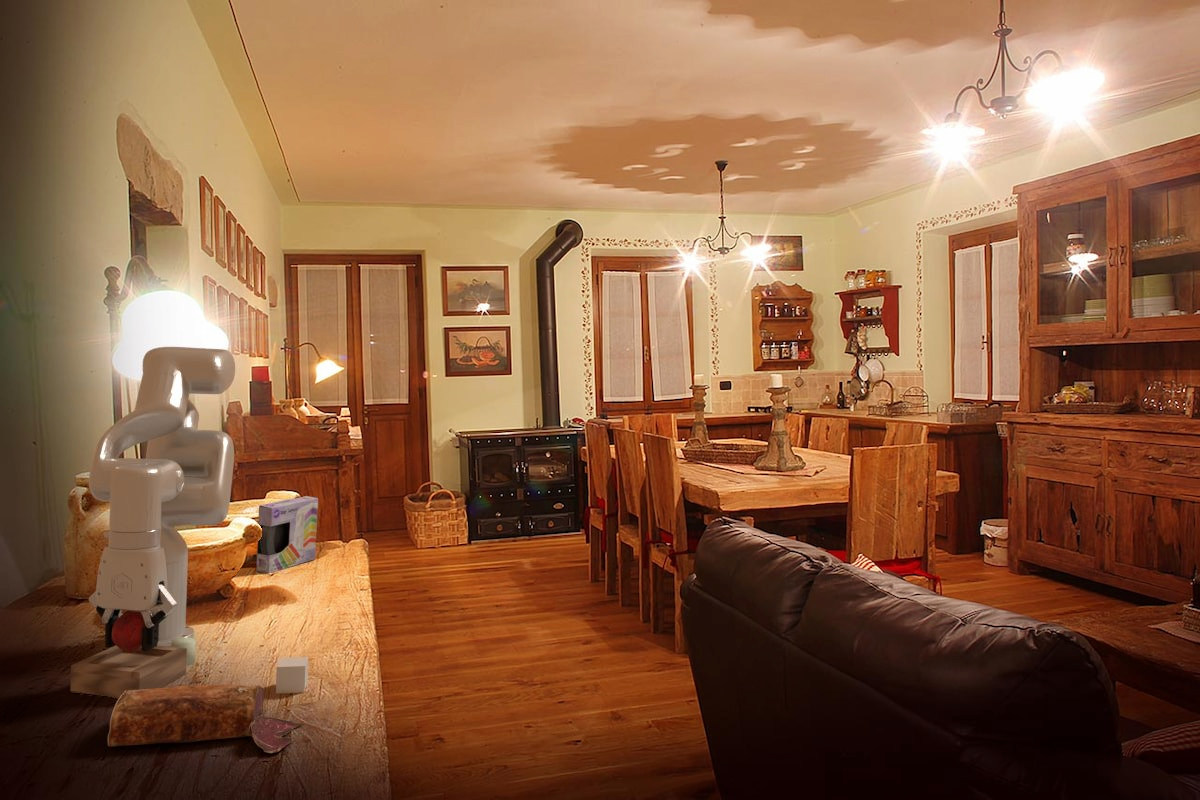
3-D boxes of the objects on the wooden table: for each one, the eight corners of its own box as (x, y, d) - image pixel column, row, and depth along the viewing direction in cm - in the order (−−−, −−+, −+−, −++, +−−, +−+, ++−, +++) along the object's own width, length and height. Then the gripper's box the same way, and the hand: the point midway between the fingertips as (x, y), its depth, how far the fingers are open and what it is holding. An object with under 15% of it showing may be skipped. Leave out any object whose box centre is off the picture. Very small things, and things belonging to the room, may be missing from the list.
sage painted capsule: (165, 665, 149) (165, 643, 148) (179, 658, 153) (180, 636, 152) (186, 667, 148) (186, 645, 148) (199, 660, 152) (200, 638, 152)
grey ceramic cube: (275, 693, 139) (276, 667, 138) (279, 683, 143) (280, 657, 143) (304, 692, 140) (305, 666, 139) (307, 682, 144) (308, 656, 144)
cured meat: (295, 756, 117) (297, 708, 117) (96, 768, 111) (98, 717, 111) (307, 708, 135) (309, 666, 135) (135, 717, 129) (137, 672, 129)
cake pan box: (266, 574, 214) (269, 506, 214) (251, 572, 216) (254, 504, 216) (317, 560, 232) (319, 497, 232) (302, 558, 234) (305, 495, 233)
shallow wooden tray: (70, 693, 135) (71, 665, 134) (122, 667, 146) (123, 642, 146) (138, 700, 133) (139, 672, 133) (185, 674, 145) (186, 648, 145)
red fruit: (132, 660, 136) (134, 612, 136) (102, 656, 137) (103, 608, 137) (158, 649, 142) (160, 602, 142) (129, 645, 143) (130, 599, 143)
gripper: (70, 539, 136) (67, 649, 137) (168, 547, 134) (164, 659, 135) (103, 531, 144) (100, 635, 144) (196, 539, 142) (193, 644, 142)
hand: (131, 645), depth 140 cm, fingers closed on red fruit, 5 cm apart
